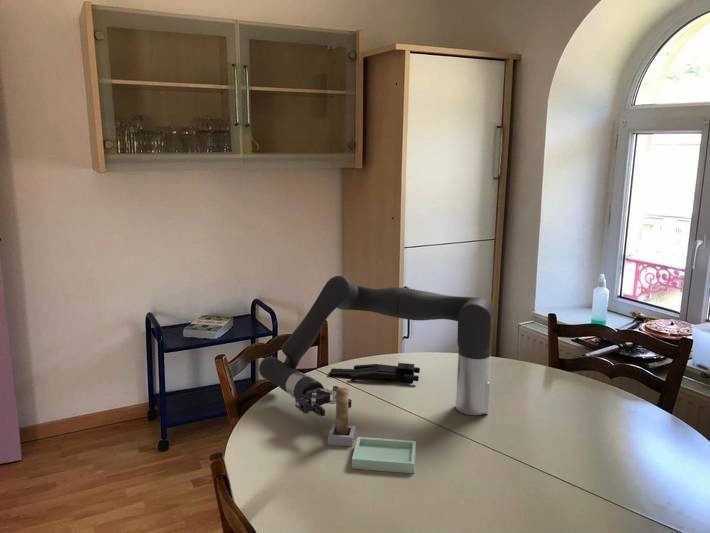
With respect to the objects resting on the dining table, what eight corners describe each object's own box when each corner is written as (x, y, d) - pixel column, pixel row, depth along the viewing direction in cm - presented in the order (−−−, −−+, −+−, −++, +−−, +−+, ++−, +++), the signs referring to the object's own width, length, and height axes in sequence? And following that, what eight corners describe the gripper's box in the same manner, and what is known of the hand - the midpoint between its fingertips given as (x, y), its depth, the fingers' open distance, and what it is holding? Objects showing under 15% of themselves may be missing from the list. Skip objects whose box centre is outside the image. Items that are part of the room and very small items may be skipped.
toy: (329, 392, 197) (419, 387, 192) (326, 375, 196) (417, 370, 190) (334, 380, 206) (421, 375, 200) (332, 363, 205) (419, 358, 199)
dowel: (348, 437, 158) (349, 388, 156) (347, 443, 155) (347, 393, 152) (337, 436, 159) (337, 387, 156) (335, 442, 156) (335, 392, 153)
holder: (355, 434, 160) (355, 426, 159) (352, 446, 154) (352, 437, 153) (332, 433, 161) (332, 424, 160) (327, 444, 154) (327, 435, 154)
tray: (415, 450, 152) (416, 441, 152) (414, 473, 142) (414, 463, 141) (357, 445, 154) (357, 436, 154) (351, 468, 143) (351, 458, 143)
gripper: (282, 382, 165) (314, 402, 152) (324, 370, 173) (358, 388, 161) (282, 407, 166) (315, 429, 154) (324, 394, 175) (358, 414, 162)
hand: (337, 408), depth 157 cm, fingers open, 8 cm apart
